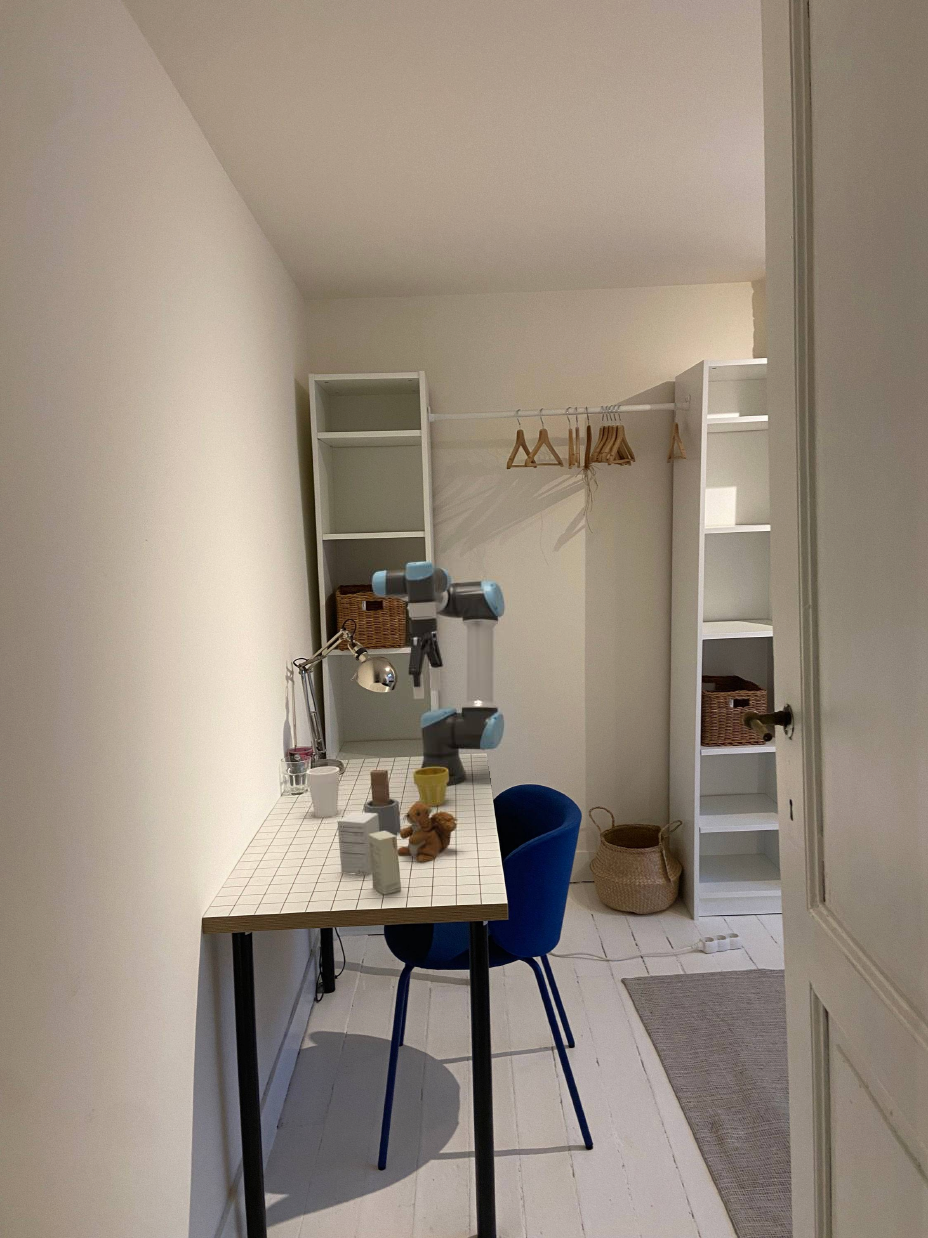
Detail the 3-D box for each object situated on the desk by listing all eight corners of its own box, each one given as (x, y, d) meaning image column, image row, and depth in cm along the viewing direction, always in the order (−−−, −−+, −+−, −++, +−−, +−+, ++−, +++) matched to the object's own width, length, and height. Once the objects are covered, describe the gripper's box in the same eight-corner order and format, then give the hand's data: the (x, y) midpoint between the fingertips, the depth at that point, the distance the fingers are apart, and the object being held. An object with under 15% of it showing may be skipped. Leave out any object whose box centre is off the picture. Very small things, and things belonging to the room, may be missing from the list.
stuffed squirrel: (394, 855, 216) (390, 802, 215) (442, 842, 224) (439, 791, 223) (414, 866, 208) (410, 811, 207) (464, 852, 215) (460, 799, 215)
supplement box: (355, 862, 213) (351, 811, 212) (382, 865, 210) (379, 812, 209) (340, 873, 206) (336, 820, 205) (368, 876, 203) (364, 822, 202)
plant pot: (428, 810, 253) (426, 777, 253) (408, 803, 262) (406, 771, 261) (457, 803, 259) (455, 770, 259) (437, 796, 268) (435, 765, 267)
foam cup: (335, 819, 250) (332, 774, 250) (305, 819, 252) (301, 774, 251) (346, 809, 260) (343, 766, 259) (317, 809, 262) (313, 766, 261)
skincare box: (401, 891, 192) (398, 836, 191) (383, 896, 190) (379, 840, 189) (389, 882, 198) (385, 829, 197) (371, 887, 196) (367, 833, 195)
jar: (375, 827, 241) (373, 798, 240) (404, 828, 238) (402, 799, 237) (361, 837, 232) (359, 807, 232) (392, 838, 230) (389, 808, 229)
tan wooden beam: (378, 828, 237) (373, 769, 236) (391, 829, 236) (387, 770, 235) (374, 831, 235) (370, 772, 234) (388, 831, 234) (384, 772, 232)
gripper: (425, 614, 255) (430, 687, 256) (392, 622, 231) (398, 702, 232) (450, 613, 252) (455, 687, 254) (419, 621, 229) (424, 702, 230)
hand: (427, 694), depth 243 cm, fingers open, 13 cm apart
